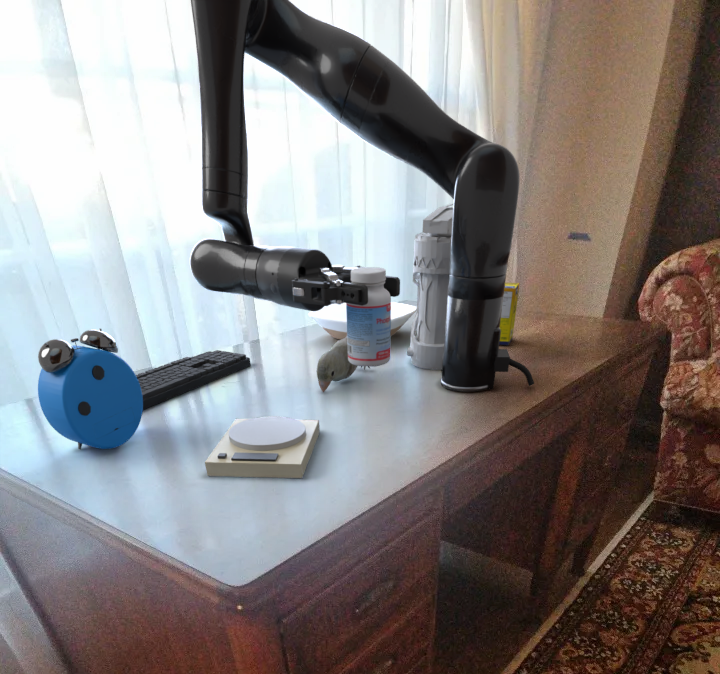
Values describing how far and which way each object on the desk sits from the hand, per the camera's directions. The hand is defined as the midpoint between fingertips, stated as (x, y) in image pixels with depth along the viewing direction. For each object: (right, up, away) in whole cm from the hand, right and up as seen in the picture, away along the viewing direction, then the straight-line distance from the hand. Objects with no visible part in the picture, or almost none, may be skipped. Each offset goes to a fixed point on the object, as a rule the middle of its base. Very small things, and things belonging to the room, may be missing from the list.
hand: (382, 291), depth 75 cm
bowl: (-2, +25, +57) cm, 62 cm away
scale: (-16, -19, +8) cm, 26 cm away
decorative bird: (-6, +3, +33) cm, 33 cm away
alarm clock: (-41, -16, +11) cm, 46 cm away
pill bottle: (-2, -6, +7) cm, 10 cm away
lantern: (+13, +11, +41) cm, 44 cm away
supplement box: (+27, +20, +51) cm, 61 cm away
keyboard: (-39, +2, +32) cm, 50 cm away
